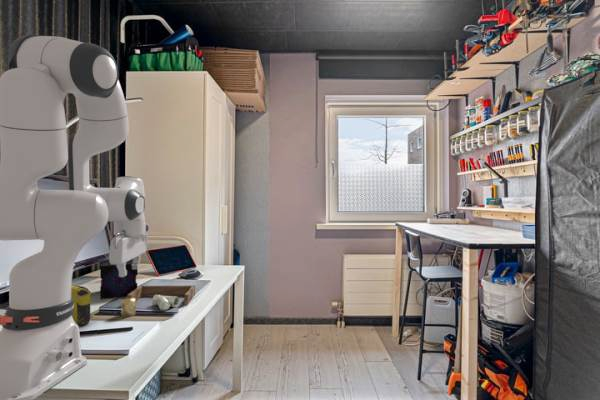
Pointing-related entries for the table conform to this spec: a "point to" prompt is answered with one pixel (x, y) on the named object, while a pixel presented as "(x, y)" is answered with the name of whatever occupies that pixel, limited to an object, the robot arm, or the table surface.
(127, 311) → the brass bushing
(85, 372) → the table surface
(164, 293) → the corral
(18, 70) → the robot arm
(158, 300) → the pipe fitting
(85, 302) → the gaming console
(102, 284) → the energy cube
